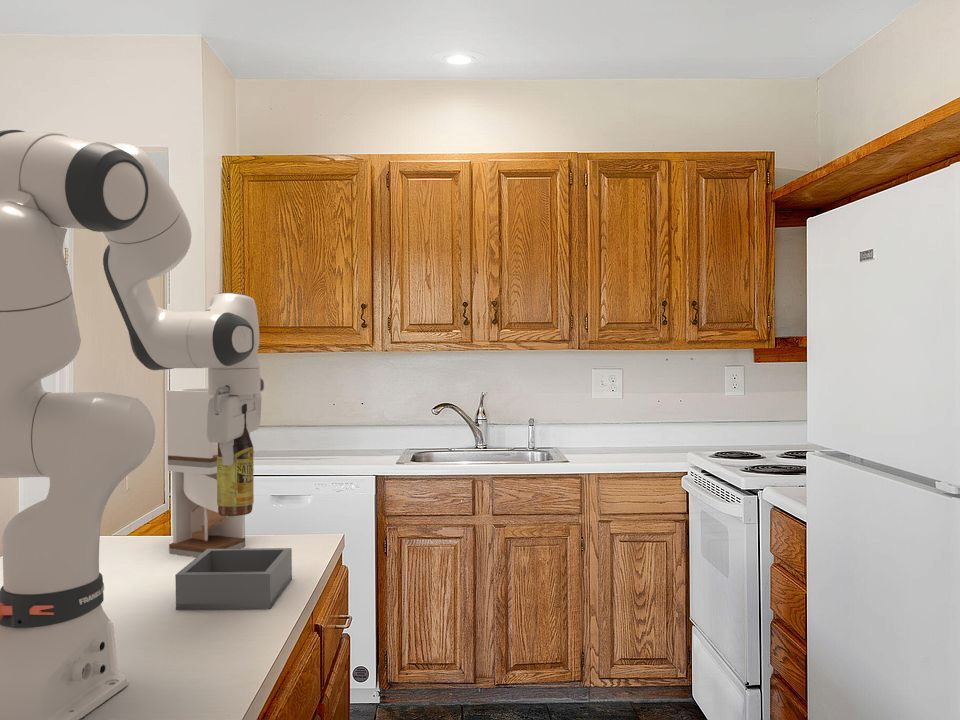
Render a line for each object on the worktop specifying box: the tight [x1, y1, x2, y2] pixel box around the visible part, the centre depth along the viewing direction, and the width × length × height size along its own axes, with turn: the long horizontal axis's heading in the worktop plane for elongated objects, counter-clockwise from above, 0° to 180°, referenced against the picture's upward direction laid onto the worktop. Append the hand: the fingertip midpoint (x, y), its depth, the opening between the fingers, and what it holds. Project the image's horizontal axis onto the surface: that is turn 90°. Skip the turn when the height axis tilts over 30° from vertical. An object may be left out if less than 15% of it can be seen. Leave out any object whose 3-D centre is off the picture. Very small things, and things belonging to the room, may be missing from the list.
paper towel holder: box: [166, 387, 246, 558], centre depth 167 cm, size 11×11×35 cm
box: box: [174, 547, 293, 611], centre depth 139 cm, size 16×16×6 cm
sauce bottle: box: [217, 404, 255, 516], centre depth 138 cm, size 7×6×20 cm
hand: (235, 461), depth 138 cm, fingers closed on sauce bottle, 6 cm apart
